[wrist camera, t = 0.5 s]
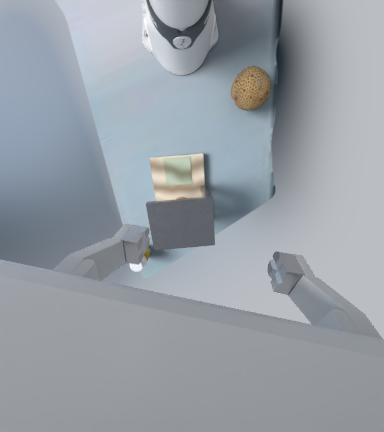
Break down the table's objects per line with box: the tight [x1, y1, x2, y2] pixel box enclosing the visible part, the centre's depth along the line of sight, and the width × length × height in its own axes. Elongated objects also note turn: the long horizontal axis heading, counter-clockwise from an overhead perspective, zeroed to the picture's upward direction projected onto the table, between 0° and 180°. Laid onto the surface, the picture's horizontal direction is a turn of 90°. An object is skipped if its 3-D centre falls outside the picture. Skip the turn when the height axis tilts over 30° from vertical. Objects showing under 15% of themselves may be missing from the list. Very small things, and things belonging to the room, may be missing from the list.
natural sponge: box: [231, 66, 271, 110], centre depth 42 cm, size 9×9×10 cm
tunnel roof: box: [146, 186, 215, 250], centre depth 47 cm, size 12×15×16 cm
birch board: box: [150, 154, 205, 201], centre depth 54 cm, size 25×16×2 cm, turn 4°
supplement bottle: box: [130, 247, 150, 272], centre depth 57 cm, size 5×5×10 cm
